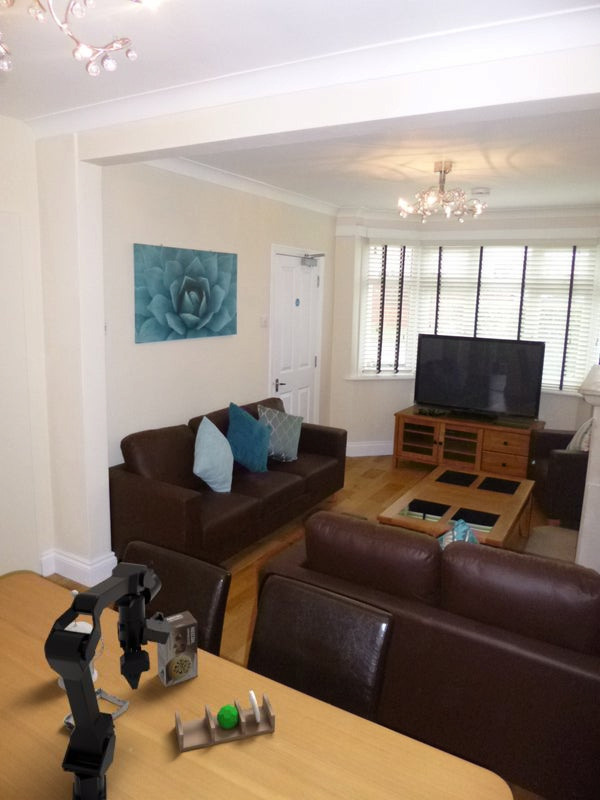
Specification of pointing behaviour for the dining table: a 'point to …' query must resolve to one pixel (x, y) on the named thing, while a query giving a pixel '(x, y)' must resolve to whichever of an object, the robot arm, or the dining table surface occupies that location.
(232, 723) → the polyhedron
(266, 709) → the rack
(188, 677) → the coffee box
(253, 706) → the saucer
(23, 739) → the dining table surface
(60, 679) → the french press
